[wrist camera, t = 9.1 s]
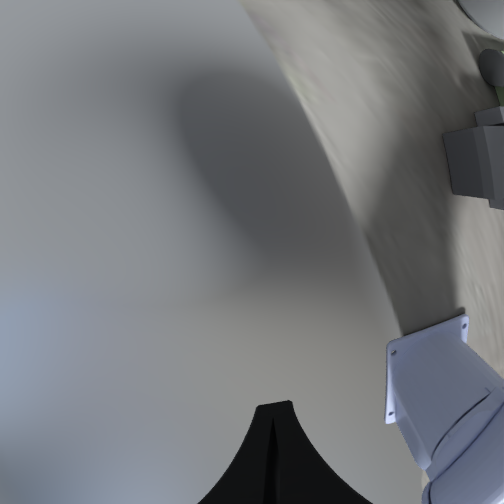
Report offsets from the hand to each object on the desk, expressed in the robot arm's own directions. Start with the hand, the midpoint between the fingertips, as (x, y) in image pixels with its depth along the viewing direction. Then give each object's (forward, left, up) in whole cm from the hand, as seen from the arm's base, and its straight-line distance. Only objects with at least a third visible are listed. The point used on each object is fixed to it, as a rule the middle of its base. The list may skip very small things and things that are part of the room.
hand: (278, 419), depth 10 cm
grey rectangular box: (+8, -19, -9) cm, 22 cm away
